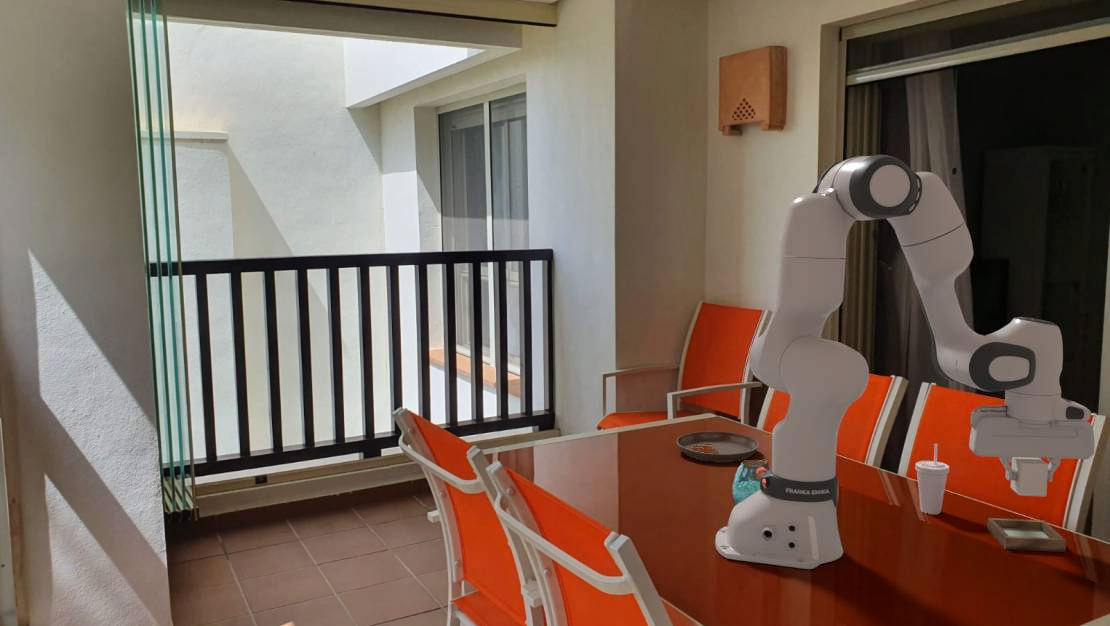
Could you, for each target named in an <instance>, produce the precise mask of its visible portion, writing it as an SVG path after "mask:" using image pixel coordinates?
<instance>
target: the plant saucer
mask: <svg viewBox="0 0 1110 626" xmlns="http://www.w3.org/2000/svg"><path fill="white" fill-rule="evenodd" d="M676 443H677V445H678V447H679V448H680V450H681V451H682V452H683V454H685V455H686V454H687V455H686V456H688V457H689V456H690V457H689V458H692V457H693V458H692V459H694V458H697V459H696V460H698V459H701V460H700V461H702V460H707V461H706V462H709V461H714V462H713V463H734V462H733V461H736V462H741V461H744V460H747V459H748V457H749V458H750V457H751V456H752V455H754V454H755V453H756V451H757V450H758V448H759V446H760V443H759V442H758V441H757V440H756V439H754V438H753V437H750V436H747V435H745V434H739V433H735V432H729V431H728V432H727V431H713V430H712V431H708V430H707V431H697V432H696V431H695V432H689V433H686V434H683V435H680V436H679V437H678V438H677V439H676ZM705 444H711V445H705ZM696 445H697V446H707V447H708V446H709V447H712V449H716V450H717V451H718V453H719V454H713V453H714V452H713V453H704V452H698V451H695V450H694V451H693V449H691V448H694V447H693V446H696ZM713 446H714V447H713ZM695 448H703V447H695ZM703 449H704V448H703ZM708 449H709V448H708ZM710 449H711V448H710ZM698 450H699V449H698ZM716 450H715V451H716ZM699 451H700V450H699ZM716 453H717V452H716ZM746 458H747V459H746ZM743 459H744V460H743ZM740 460H741V461H740Z"/></svg>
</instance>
